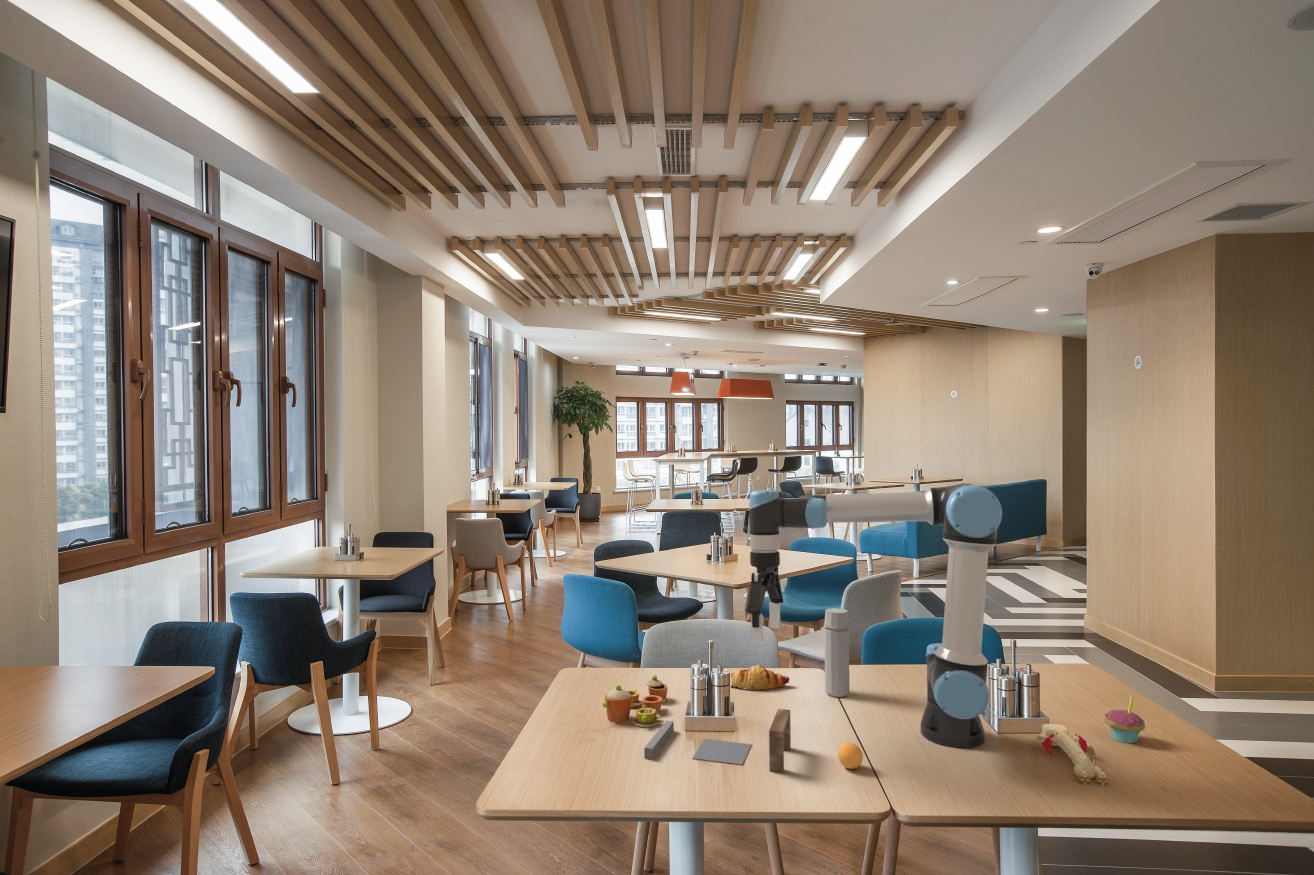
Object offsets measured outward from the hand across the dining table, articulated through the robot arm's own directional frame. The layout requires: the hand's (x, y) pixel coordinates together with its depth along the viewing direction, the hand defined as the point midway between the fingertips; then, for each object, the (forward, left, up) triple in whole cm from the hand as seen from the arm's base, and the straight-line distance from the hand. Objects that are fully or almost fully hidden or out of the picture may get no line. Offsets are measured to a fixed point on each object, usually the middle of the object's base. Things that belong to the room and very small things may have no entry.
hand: (766, 634), depth 180 cm
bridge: (-5, +12, -26) cm, 29 cm away
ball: (-21, +12, -24) cm, 34 cm away
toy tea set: (+38, -9, -27) cm, 47 cm away
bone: (-70, -8, -27) cm, 75 cm away
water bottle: (-15, -40, -27) cm, 50 cm away
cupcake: (-86, -25, -27) cm, 93 cm away
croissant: (+10, -40, -27) cm, 49 cm away
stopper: (+25, +12, -26) cm, 38 cm away
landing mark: (+9, +12, -26) cm, 30 cm away
